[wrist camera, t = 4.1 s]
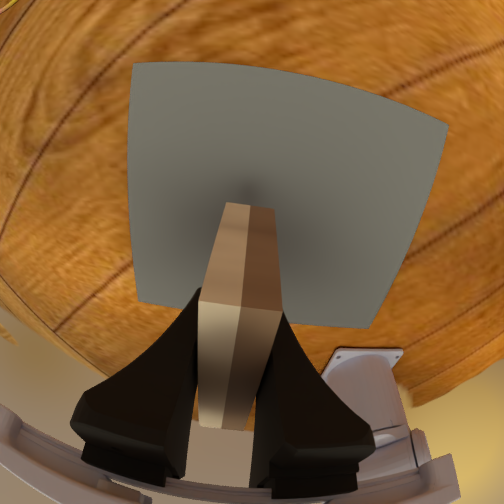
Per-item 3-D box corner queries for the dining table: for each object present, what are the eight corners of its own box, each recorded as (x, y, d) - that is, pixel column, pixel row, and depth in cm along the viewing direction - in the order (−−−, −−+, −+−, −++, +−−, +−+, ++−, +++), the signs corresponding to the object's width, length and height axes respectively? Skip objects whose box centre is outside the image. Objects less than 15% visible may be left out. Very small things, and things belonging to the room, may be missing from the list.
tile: (248, 336, 16) (243, 430, 11) (214, 331, 16) (199, 425, 11) (274, 208, 12) (282, 311, 7) (226, 202, 12) (198, 300, 6)
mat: (367, 325, 23) (368, 328, 23) (140, 298, 22) (138, 301, 22) (445, 124, 14) (448, 124, 13) (135, 63, 13) (133, 63, 12)
